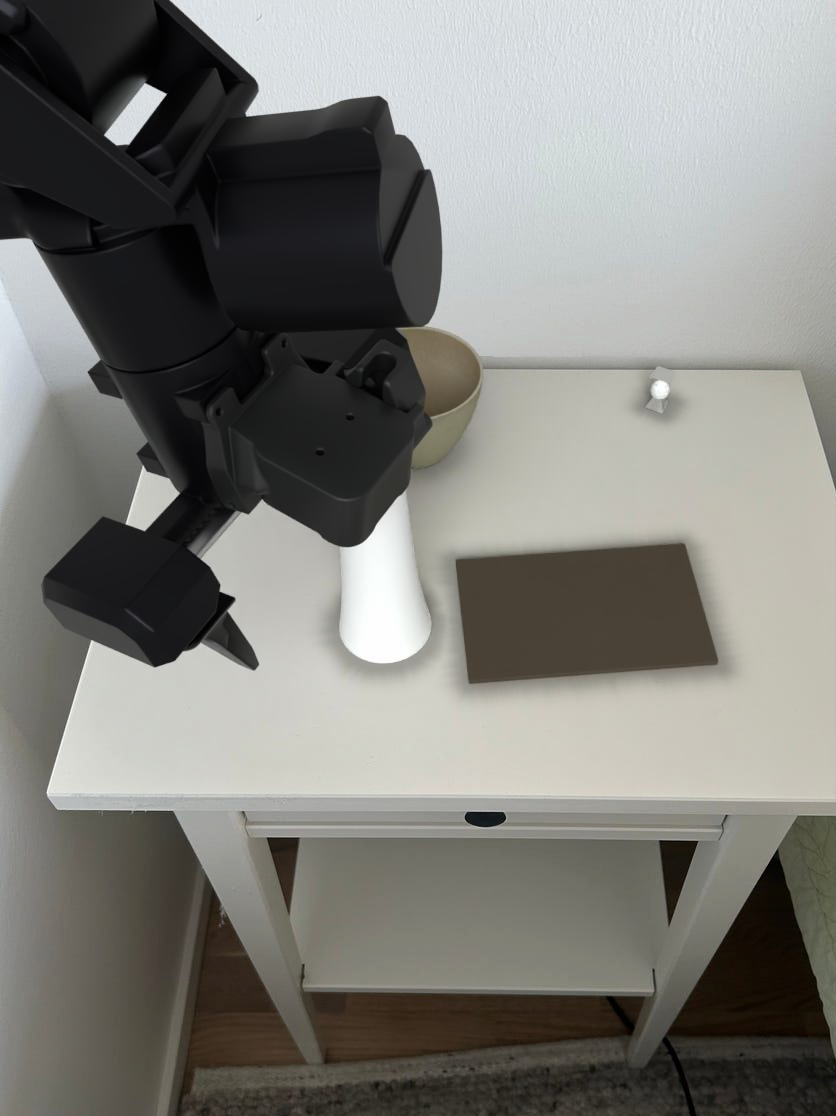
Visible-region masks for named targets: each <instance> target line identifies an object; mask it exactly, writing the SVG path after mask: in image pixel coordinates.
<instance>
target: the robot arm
mask: <svg viewBox="0 0 836 1116" xmlns="http://www.w3.org/2000/svg"><path fill="white" fill-rule="evenodd" d="M144 85H147V86H149V87H151V88H153V89H155V90H158V91H160V92H162V93H163V94H165V96H164V97H163V98H162V99H161V101H160V102H159V103H158V105H157V106H156V107H155V108H154V110H153V112H152V113H151V114H150V115H149V117H148V119H146V120H145V122H144V123H143V125H142V126H141V128H140V129H139V130H138V131H137V133H136V134H135V136H134V137H133V138H132V139H131V141H130V142H129V143H127V144H116V143H114V142H113V141H112V140H111V139H110V138H109V137H107V136H106V134H107V132H108V131H109V130H110V128H111V127H112V126H113V125H114V123H115V122H116V121H117V119H118V118H119V117H120V116H121V115H122V113H123V112H124V111H125V110H126V109H127V107H128V106H129V104H130V103H131V101H133V100H134V99H135V97H136V96H137V94H138V93H139V92H140V90H141V89H142V88H143V86H144ZM259 92H260V89H259V83H258V81H257V80H256V78H255V77H254V76H253V75H252V74H250V72H248V71H247V70H246V69H245V68H244V67H243V66H242V65H241V64H240V63H239V62H238V61H237V60H235V59H234V58H233V57H232V56H231V55H230V54H229V53H228V52H227V51H226V50H224V49H223V48H222V47H221V46H220V45H219V43H217V42H216V41H215V40H214V39H213V38H212V37H211V36H210V35H208V34H207V33H206V32H205V31H204V30H203V29H202V28H200V27H199V25H197V23H196V22H194V21H193V20H192V19H191V18H190V17H189V16H187V15H186V13H185V12H183V11H182V10H181V9H180V8H179V7H178V6H177V5H176V4H175V3H174V2H173V1H171V0H0V241H6V240H19V239H21V240H22V239H27V240H31V242H32V243H33V245H34V247H35V249H36V250H37V252H38V254H39V255H40V257H41V259H42V261H43V263H44V264H45V266H46V268H47V270H48V271H49V273H50V275H51V277H52V278H53V280H54V282H55V284H56V285H57V287H58V288H59V290H60V292H61V294H62V296H63V297H64V299H65V301H66V302H67V304H68V306H69V308H70V309H71V311H72V312H73V315H74V316H75V318H76V320H77V322H78V323H79V325H80V327H81V328H82V330H83V332H84V333H85V335H86V338H87V339H88V340H89V342H90V344H91V346H92V348H93V349H94V351H95V352H96V354H97V356H98V358H99V360H98V361H97V362H96V363H95V364H94V365H93V366H92V367H91V368H89V370H88V371H86V372H87V374H88V376H89V378H90V379H91V381H92V383H93V384H94V386H95V388H96V389H97V391H98V392H99V393H98V394H102V395H106V396H109V397H112V398H115V399H119V400H123V401H124V403H125V405H126V407H127V408H128V410H129V411H130V413H131V415H132V417H133V418H134V420H135V422H136V424H137V425H138V427H139V430H140V431H141V432H142V434H143V436H144V437H145V439H146V441H147V442H146V443H145V444H144V445H143V446H142V447H141V448H140V449H139V450H138V451H137V452H136V456H137V458H138V459H139V461H140V463H141V464H142V466H143V468H144V469H145V471H146V473H150V474H152V475H157V476H160V477H163V478H165V479H169V480H170V482H171V484H172V486H173V487H174V489H175V490H176V492H177V493H179V494H178V495H177V496H176V497H175V498H174V499H173V500H172V501H171V502H170V503H169V505H167V506H166V508H165V509H164V510H163V511H162V512H161V513H160V514H159V515H158V516H157V517H156V518H155V519H154V520H153V522H151V524H150V525H149V526H148V527H147V528H146V529H145V530H143V529H140V528H138V527H135V526H132V525H129V524H126V523H123V522H121V521H118V520H115V519H112V518H109V517H106V516H104V515H103V516H101V517H100V518H99V519H98V521H96V522H95V524H93V525H92V526H91V527H90V529H88V531H86V533H85V534H84V535H83V536H81V538H80V539H79V540H78V541H77V542H76V543H75V544H74V545H73V546H72V547H71V548H70V549H69V551H67V552H66V553H65V555H63V556H62V557H61V558H60V560H59V561H57V562H56V564H55V565H53V567H52V568H51V569H49V571H48V572H47V573H45V575H44V576H43V579H42V581H41V584H40V588H41V594H42V600H43V601H42V602H43V604H44V605H45V607H46V609H48V610H49V612H50V613H51V614H52V616H53V617H54V618H55V619H56V620H57V621H58V623H59V624H60V625H61V626H62V627H63V629H64V630H68V631H69V632H72V633H74V634H77V635H79V636H80V637H84V639H85V638H86V639H88V640H90V641H92V642H95V643H97V644H100V645H101V646H104V647H107V648H108V649H111V650H113V651H115V652H118V653H120V654H122V655H125V656H127V657H129V658H132V659H134V660H136V661H139V662H141V663H143V664H145V665H148V666H149V667H152V668H158V667H161V666H164V665H169V664H170V663H175V662H176V661H177V659H178V658H179V657H180V656H181V655H182V654H183V653H184V652H190V651H192V650H195V649H197V647H198V646H200V644H201V645H204V646H206V647H208V648H209V649H211V650H212V651H214V652H216V653H218V654H220V655H221V656H223V657H224V658H226V659H228V660H229V661H231V662H233V663H235V664H237V665H239V666H241V667H243V668H246V669H248V670H251V671H256V670H257V669H258V667H259V666H260V662H259V660H258V657H257V654H256V652H255V649H254V648H253V646H252V644H251V643H250V642H249V640H248V639H247V637H246V636H245V634H244V632H243V631H242V630H241V628H240V627H239V625H238V624H237V623H236V621H235V620H234V618H233V617H232V615H231V614H230V612H229V610H230V609H231V607H232V606H233V605H234V604H235V603H236V601H237V598H236V597H235V596H234V595H230V594H227V593H225V592H222V591H221V587H222V585H221V583H220V581H219V580H218V578H217V576H216V574H215V572H214V570H213V569H212V567H211V566H210V565H208V563H206V562H205V561H204V560H202V558H203V557H204V556H205V555H206V554H207V552H209V550H210V549H211V548H212V547H213V546H214V544H216V542H217V541H218V540H219V539H220V538H221V537H222V536H223V534H224V533H225V532H226V531H227V530H228V529H229V528H230V527H231V525H232V524H234V522H235V521H236V520H237V518H239V516H240V515H241V514H244V515H245V514H246V515H250V514H251V513H252V512H253V511H254V510H255V508H256V507H257V506H258V505H259V504H260V502H262V501H263V502H264V503H265V504H266V505H268V506H269V507H271V508H272V509H275V510H276V511H277V512H280V513H281V514H283V515H285V516H287V517H288V518H290V519H292V520H294V521H295V522H297V523H298V524H301V525H303V526H305V527H307V528H308V529H310V530H312V531H313V532H315V533H316V534H318V535H319V536H320V537H321V538H322V539H323V540H324V541H326V542H328V543H330V544H332V545H334V546H337V547H339V546H340V547H354V546H357V545H359V544H361V543H363V542H364V541H365V540H366V539H367V538H368V537H369V536H370V535H371V534H372V532H373V531H374V529H375V527H376V525H377V523H378V522H379V521H380V519H381V518H382V517H383V515H384V514H385V513H386V512H387V510H388V509H389V508H390V506H391V505H392V504H393V503H394V501H395V500H396V499H397V498H398V496H401V495H402V494H403V493H404V491H405V490H406V491H407V489H408V487H409V485H410V482H411V474H412V473H411V472H412V468H411V464H412V454H413V450H414V449H415V448H416V447H417V445H418V444H419V443H420V442H421V440H422V439H423V438H424V437H425V435H426V434H427V432H428V431H429V430H430V429H431V428H432V425H433V423H432V420H431V418H430V417H429V416H428V415H427V414H426V413H425V412H424V407H425V397H426V391H425V387H424V385H423V382H422V380H421V377H420V375H419V372H418V370H417V367H416V365H415V362H414V360H413V357H412V355H411V352H410V348H409V345H408V341H407V338H406V336H405V334H403V333H402V332H401V331H400V330H399V329H398V328H410V327H423V326H426V325H427V326H428V324H430V321H431V320H432V319H433V317H434V315H435V312H436V310H437V306H438V302H439V297H440V292H441V285H442V276H443V233H442V231H443V230H442V223H441V222H442V221H441V213H440V206H439V205H440V204H439V200H438V195H437V189H436V185H435V184H436V183H435V181H434V180H435V179H434V176H433V173H432V170H431V169H430V168H425V166H424V164H423V162H422V158H421V155H420V153H419V151H418V149H417V148H416V146H415V145H414V143H413V141H412V140H411V139H409V137H407V135H406V134H401V133H400V134H399V133H396V129H395V126H394V121H393V118H392V114H391V109H390V106H389V102H388V101H387V100H386V99H385V98H384V97H382V96H381V95H372V96H363V97H362V96H361V97H353V98H347V99H342V100H340V101H339V100H338V101H337V102H334V103H333V104H330V105H327V106H325V107H321V108H316V109H305V110H297V111H287V112H276V113H266V114H257V115H248V116H247V112H248V110H249V108H250V107H251V105H252V104H253V102H254V101H255V100H256V98H257V96H258V94H259Z"/></svg>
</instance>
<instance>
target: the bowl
mask: <svg viewBox="0 0 836 1116" xmlns="http://www.w3.org/2000/svg"><path fill="white" fill-rule="evenodd" d="M398 329H399V330H400V331H401V332H402V333H403V334H405V336H406V338H407V341H408V345H409V348H410V352H411V355H412V357H413V360H414V362H415V365H416V367H417V370H418V372H419V375H420V377H421V380H422V382H423V385H424V387H425V391H426V397H425V407H424V412H425V413H426V414H427V415H428V416H429V417H430V418H431V420H432V423H433V425H432V428H431V429H430V430H429V431H428V432H427V434H426V435H425V437H424V438H423V439H422V440H421V442H420V443H419V444H418V445H417V447H416V448H415V449H414V450H413V454H412V464H411V469H415V470H416V469H424V468H428V467H432V466H434V465H436V464H437V463H440V462H441V461H442V460H443V459H445V457H446V456H447V455H448V454H449V453H450V452H451V451H452V450H453V449H454V447H455V446H456V445H457V444H458V442H459V441H460V440H461V438H462V437H463V435H464V433H465V432H466V430H467V428H468V426H469V424H470V423H471V421H472V418H473V416H474V413H475V411H476V408H477V405H478V402H479V399H480V394H481V390H482V387H483V386H482V385H483V381H484V365H483V362H482V360H481V359H482V358H481V357H480V355H479V353H478V352H477V350H475V348H474V347H473V346H472V345H471V344H470V343H469V342H467V341H466V340H464V339H463V338H462V337H460V336H458V335H456V334H454V333H452V332H450V331H447V330H444V329H441V328H436V327H434V326H433V327H432V326H428V325H427V326H426V325H425V326H423V327H410V328H398Z"/></svg>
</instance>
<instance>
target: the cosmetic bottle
mask: <svg viewBox="0 0 836 1116" xmlns="http://www.w3.org/2000/svg"><path fill="white" fill-rule="evenodd" d="M410 516H411V515H410V509H409V501H408V493H407V489H406V490H405V491H404V493H403V494H402V495H401V496H398V498H397V499H396V500H395V501H394V503H393V504H392V505H391V506H390V508H389V509H388V510H387V512H386V513H385V514H384V515H383V517H382V518H381V519H380V521H379V522H378V523H377V525H376V527H375V529H374V531H373V532H372V534H371V535H370V536H369V537H368V538H367V539H366V540H365V541H364V542H363V543H361V544H359V545H357V546H354V547H340V546H338V550H339V551H338V552H339V561H340V562H339V563H340V581H341V598H340V599H341V601H340V602H341V603H340V615H339V623H338V631H339V636H340V639H341V641H342V644H344V646H345V647H346V649H347V650H348V651H349V652H350V653H351V654H353V655H354V656H356V657H357V658H359V659H362V660H363V661H366V662H369V663H373V664H374V663H375V664H392V663H397V662H401V661H404V660H406V659H408V658H411V657H412V656H414V655H416V653H417V652H419V651H420V650H421V649H422V648H423V647H424V646H425V644H426V643H427V641H428V640H429V638H430V635H431V631H432V625H433V623H432V616H431V613H430V610H429V607H428V604H427V602H426V601H427V600H426V598H425V595H424V592H423V588H422V584H421V583H422V582H421V579H420V574H419V569H418V564H417V557H416V551H415V546H414V537H413V532H412V531H413V530H412V524H411V517H410Z"/></svg>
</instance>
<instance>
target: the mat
mask: <svg viewBox="0 0 836 1116" xmlns="http://www.w3.org/2000/svg"><path fill="white" fill-rule="evenodd" d="M455 567H456V576H457V587H458V596H459V605H460V614H461V615H460V616H461V623H462V633H463V640H464V641H463V642H464V651H465V661H466V670H467V679H468V684H469V685H473V684H487V683H497V682H509V681H510V682H511V681H513V682H514V681H524V680H537V679H549V678H550V679H551V678H562V677H563V678H564V677H577V676H589V675H601V674H602V675H603V674H614V673H626V672H627V673H628V672H641V671H653V670H663V669H664V670H665V669H667V670H668V669H679V668H690V667H691V668H692V667H703V666H716V665H718V663H719V658H718V655H717V651H716V648H715V644H714V640H713V637H712V634H711V631H710V626H709V624H708V620H707V616H706V613H705V609H704V606H703V603H702V599H701V595H700V592H699V588H698V585H697V582H696V578H695V575H694V571H693V567H692V564H691V561H690V557H689V554H688V550H687V547H686V544H685V543H676V544H675V543H674V544H660V545H648V546H647V545H646V546H644V545H643V546H632V547H617V548H616V547H615V548H605V549H604V548H603V549H602V548H601V549H589V550H573V551H561V552H560V551H559V552H546V553H545V552H544V553H533V554H532V553H531V554H518V555H517V554H516V555H503V556H490V557H489V556H488V557H477V558H476V557H475V558H474V557H473V558H460V559H455Z"/></svg>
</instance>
